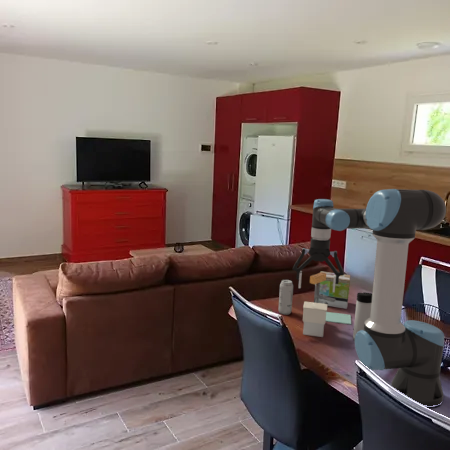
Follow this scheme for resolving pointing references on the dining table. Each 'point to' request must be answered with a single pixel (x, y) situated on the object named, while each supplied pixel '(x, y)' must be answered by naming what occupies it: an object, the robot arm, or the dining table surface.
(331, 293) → the tea box
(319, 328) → the block
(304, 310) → the cover
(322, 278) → the t key
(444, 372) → the dining table surface
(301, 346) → the dining table surface
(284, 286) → the energy drink can
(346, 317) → the mat
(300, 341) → the dining table surface
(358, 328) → the travel mug
